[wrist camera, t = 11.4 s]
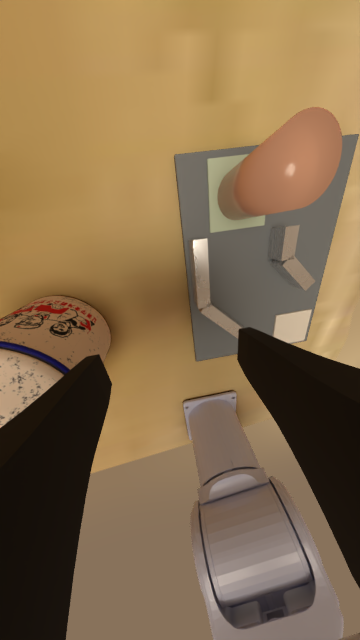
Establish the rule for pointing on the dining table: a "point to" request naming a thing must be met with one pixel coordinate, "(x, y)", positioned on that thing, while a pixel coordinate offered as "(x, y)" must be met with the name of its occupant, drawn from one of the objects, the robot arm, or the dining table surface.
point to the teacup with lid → (45, 348)
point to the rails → (282, 261)
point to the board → (253, 252)
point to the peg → (284, 168)
